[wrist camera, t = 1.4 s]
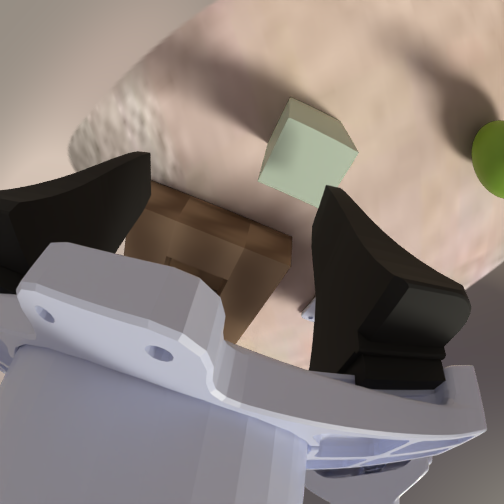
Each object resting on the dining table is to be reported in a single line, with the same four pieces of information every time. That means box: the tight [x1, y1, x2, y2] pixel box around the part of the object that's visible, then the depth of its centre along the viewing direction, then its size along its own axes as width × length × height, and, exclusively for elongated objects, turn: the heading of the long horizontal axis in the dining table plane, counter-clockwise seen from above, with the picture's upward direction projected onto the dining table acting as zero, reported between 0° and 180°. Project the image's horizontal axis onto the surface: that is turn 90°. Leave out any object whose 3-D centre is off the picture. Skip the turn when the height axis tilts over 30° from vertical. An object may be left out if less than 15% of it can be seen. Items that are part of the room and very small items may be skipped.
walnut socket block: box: [124, 181, 292, 344], centre depth 25 cm, size 12×12×4 cm
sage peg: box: [258, 97, 359, 208], centre depth 16 cm, size 4×4×6 cm
